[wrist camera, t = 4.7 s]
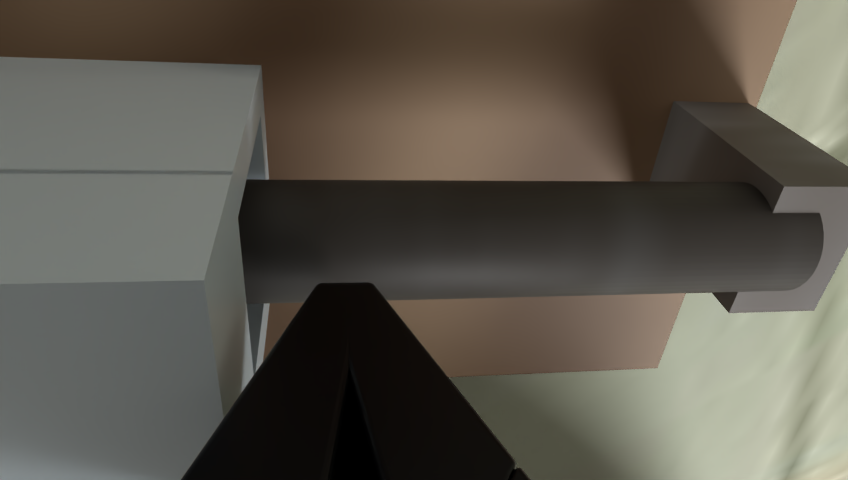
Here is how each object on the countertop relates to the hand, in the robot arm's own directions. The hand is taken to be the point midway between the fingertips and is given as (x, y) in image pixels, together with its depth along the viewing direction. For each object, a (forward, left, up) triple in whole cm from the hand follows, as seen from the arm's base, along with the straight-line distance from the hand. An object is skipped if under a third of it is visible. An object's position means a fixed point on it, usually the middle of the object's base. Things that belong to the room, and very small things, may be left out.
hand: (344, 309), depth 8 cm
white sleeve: (0, +3, -4) cm, 5 cm away
